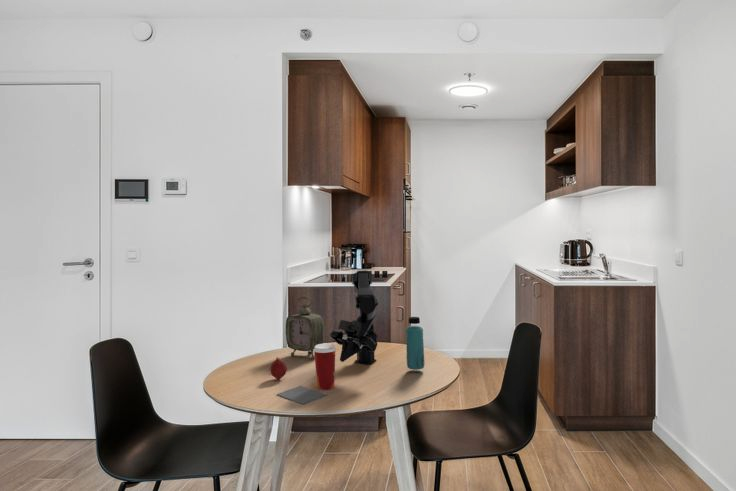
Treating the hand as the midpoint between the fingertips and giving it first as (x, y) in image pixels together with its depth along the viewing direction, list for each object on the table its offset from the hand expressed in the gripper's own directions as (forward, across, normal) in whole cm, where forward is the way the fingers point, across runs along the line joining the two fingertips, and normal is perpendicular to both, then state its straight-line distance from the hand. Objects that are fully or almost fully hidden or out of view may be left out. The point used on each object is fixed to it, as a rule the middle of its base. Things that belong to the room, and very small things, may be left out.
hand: (341, 361), depth 162 cm
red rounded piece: (+14, -19, -4) cm, 24 cm away
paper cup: (+10, 0, 0) cm, 10 cm away
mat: (+17, 0, -7) cm, 19 cm away
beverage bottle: (-13, +13, +23) cm, 29 cm away
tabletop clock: (-4, -35, +14) cm, 38 cm away
